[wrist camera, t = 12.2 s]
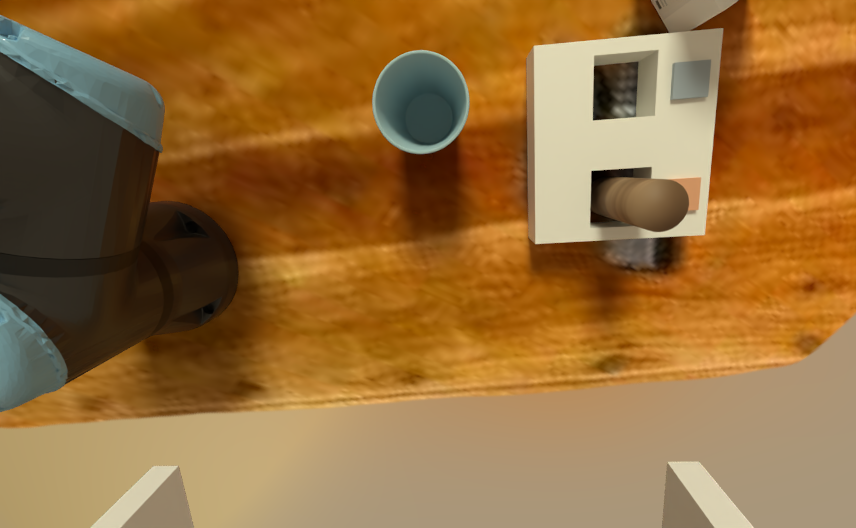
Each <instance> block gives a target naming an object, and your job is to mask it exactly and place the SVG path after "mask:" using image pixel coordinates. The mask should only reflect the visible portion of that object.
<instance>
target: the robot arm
mask: <svg viewBox="0 0 856 528" xmlns="http://www.w3.org/2000/svg"><path fill="white" fill-rule="evenodd" d="M164 113H165V106H164V102H163V99H162V97H161V95H160V94H159V93H158V91H157V90H156V89H155V88H154V87H153V86H152V85H151V84H149V83H148V82H146V81H144V80H142V79H140V78H138V77H136V76H134V75H132V74H129V73H127V72H125V71H123V70H121V69H118V68H116V67H114V66H112V65H110V64H107V63H105V62H103V61H101V60H99V59H96V58H94V57H92V56H90V55H88V54H85V53H83V52H81V51H79V50H76V49H74V48H72V47H70V46H68V45H65V44H63V43H61V42H59V41H57V40H54V39H52V38H50V37H48V36H46V35H43V34H41V33H39V32H37V31H35V30H32V29H30V28H28V27H26V26H24V25H21V24H19V23H17V22H15V21H13V20H10V19H8V18H6V17H4V16H2V15H0V412H2V411H6V410H10V409H13V408H15V407H17V406H20V405H22V404H24V403H26V402H28V401H30V400H32V399H34V398H36V397H38V396H40V395H43V394H45V393H50V392H53V391H56V390H58V389H60V388H61V387H63V386H64V385H65V384H66V383H68V382H70V381H72V380H74V379H75V378H77V377H79V376H81V375H82V374H84V373H86V372H88V371H89V370H91V369H93V368H95V367H97V366H98V365H100V364H102V363H104V362H105V361H107V360H109V359H111V358H112V357H114V356H116V355H118V354H119V353H121V352H123V351H125V350H127V349H128V348H130V347H132V346H134V345H135V344H137V343H139V342H141V341H142V340H144V339H146V338H148V337H150V336H152V335H160V334H167V333H175V332H182V331H187V330H191V329H194V328H197V327H199V326H202V325H204V324H205V323H207V322H209V321H210V320H212V319H214V318H215V317H217V316H218V315H219V314H221V313H222V312H223V311H224V310H225V309H226V308H227V306H228V305H229V304H230V302H231V300H232V298H233V296H234V294H235V291H236V288H237V283H238V265H237V259H236V255H235V252H234V250H233V247H232V245H231V243H230V241H229V239H228V237H227V236H226V234H225V233H224V232H223V230H222V229H221V228H220V227H219V225H218V224H217V223H216V222H215V221H214V220H212V219H211V218H210V217H209V216H207V215H206V214H205V213H203V212H202V211H200V210H198V209H196V208H194V207H192V206H189V205H187V204H183V203H179V202H173V201H159V202H150V197H151V192H152V187H153V182H154V177H155V172H156V167H157V162H158V157H159V152H160V153H162V150H163V147H162V145H161V135H162V128H163V120H164ZM149 202H150V203H149ZM90 528H194V526H193V522H192V518H191V514H190V510H189V505H188V501H187V497H186V493H185V489H184V485H183V481H182V477H181V473H180V469H179V466H153V467H152V468H151V469H150V470H149V471H148V472H147V473H146V474H145V475H144V476H142V477H141V478H140V479H139V480H138V481H137V482H136V483H135V484H134V485H133V486H132V487H131V488H130V489H129V490H128V491H127V492H126V493H125V494H124V495H123V496H122V497H121V498H120V499H119V500H118V501H117V502H116V503H115V504H114V505H113V506H112V507H111V508H110V509H109V510H108V511H107V512H106V513H105V514H104V515H102V517H101V518H100V519H98V520H97V521H96V522H95V523H94V524H93V525H92V526H91V527H90ZM662 528H754V527H753V526H752V525H751V524H750V523H749V521H748V520H747V519H746V518H745V517H744V515H743V514H742V513H741V512H740V511H739V509H738V508H737V507H736V506H735V505H734V503H733V502H732V501H731V500H730V499H729V497H728V496H727V495H726V494H725V492H724V491H723V490H722V489H721V488H720V486H719V485H718V484H717V483H716V482H715V480H714V479H713V478H712V477H711V475H710V474H709V473H708V472H707V471H706V469H705V468H704V467H703V466H702V465H701V463H700V462H667V471H666V483H665V496H664V509H663V521H662Z"/></svg>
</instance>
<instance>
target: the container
mask: <svg viewBox="0 0 856 528" xmlns="http://www.w3.org/2000/svg"><path fill="white" fill-rule="evenodd" d="M651 1H652V3H653V5H654V7H655V8H656V10H657V12H658V14H659V16H660V17H661V19H662V21H663V23H664V24H665V26H666V28H667V30H668V31H669V33H675V32H686V31H691V30H692V29H694V28H696V27H697V26H699V25H701V24H702V23H704V22H706V21H707V20H709V19H711V18H712V17H714V16H716V15H717V14H719V13H721V12H723V11H724V10H726V9H727V8H729V7H730V6H732V5H733V4H734V3H736V2H737V1H739V0H651Z"/></svg>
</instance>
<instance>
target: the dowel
mask: <svg viewBox="0 0 856 528" xmlns="http://www.w3.org/2000/svg"><path fill="white" fill-rule="evenodd" d="M688 208H689V197H688V194H687V192H686V190H685V188H684V187H683V186H682V185H681V184H679V183H678V182H676V181H673V180H668V179H650V178H628V177H600V178H598V179H596V180H594V181H593V182H592V183H591V206H590V210H591V211H592V212H594V213H596V214H598V215H602V216H605V217H608V218H611V219H614V220H617V221H620V222H624V223H627V224H630V225H633V226H636V227H639V228H643V229H646V230H649V231H652V232H664V231H668V230H670V229H672V228H674V227H676V226H677V225H678V224H679V223H680V222H681V221H682V220H683V219H684V217H685V216H686V214H687V211H688Z"/></svg>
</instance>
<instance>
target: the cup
mask: <svg viewBox="0 0 856 528" xmlns="http://www.w3.org/2000/svg"><path fill="white" fill-rule="evenodd" d="M372 105H373V114H374V118H375V121H376V123H377V125H378V128H379V129H380V131H381V133H382V134H383V135H384V137H385V138H386V139H387V140H388V141H389V142H390V143H391V144H392V145H394V146H395V147H397V148H399V149H401V150H403V151H406V152H409V153H413V154H428V153H433V152H436V151H438V150H441V149H443V148H444V147H446V146H447V145H449V144H450V143H451V142H452V141H453V140H454V139H455V138H456V137H457V136H458V135H459V133H460V132H461V130H462V129H463V127H464V125H465V122H466V120H467V116H468V112H469V92H468V88H467V85H466V82H465V79H464V77H463V75H462V74H461V72H460V71H459V69H458V68H457V67H456V66H455V65H454V64H453V63H452V62H451V61H450V60H449V59H447V58H446V57H444V56H442V55H440V54H438V53H435V52H431V51H425V50H418V51H411V52H407V53H405V54H402V55H400V56H398V57H397V58H395V59H394V60H392V61H391V62H390V63H389V64H388V65H387V66H386V67H385V68H384V69H383V71H382V72H381V74H380V76H379V77H378V80H377V82H376V84H375V88H374V92H373V104H372Z"/></svg>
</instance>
